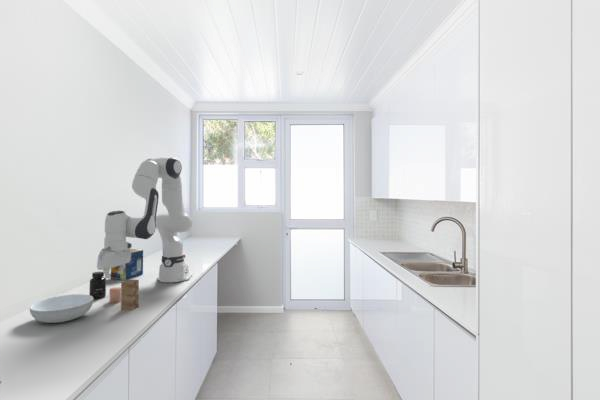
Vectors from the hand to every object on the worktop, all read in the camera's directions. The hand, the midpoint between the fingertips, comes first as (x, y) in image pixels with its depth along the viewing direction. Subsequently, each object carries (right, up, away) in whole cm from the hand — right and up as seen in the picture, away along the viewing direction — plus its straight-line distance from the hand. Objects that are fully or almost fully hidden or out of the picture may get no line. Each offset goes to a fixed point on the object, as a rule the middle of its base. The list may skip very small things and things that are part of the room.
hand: (114, 275), depth 158 cm
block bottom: (+11, -12, -8) cm, 19 cm away
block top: (+11, -4, -8) cm, 15 cm away
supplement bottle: (-12, -12, +7) cm, 18 cm away
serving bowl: (-9, -13, -22) cm, 27 cm away
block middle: (+11, -8, -8) cm, 16 cm away
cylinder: (0, -12, +1) cm, 12 cm away
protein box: (-18, -11, +48) cm, 53 cm away
